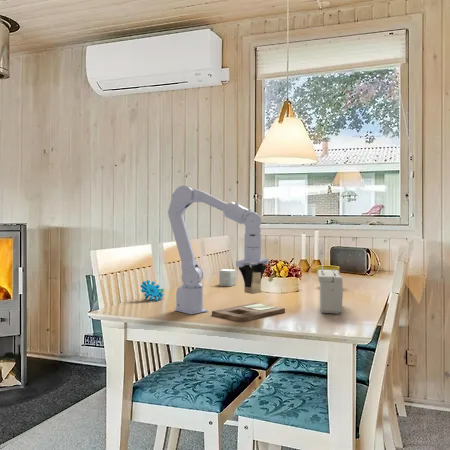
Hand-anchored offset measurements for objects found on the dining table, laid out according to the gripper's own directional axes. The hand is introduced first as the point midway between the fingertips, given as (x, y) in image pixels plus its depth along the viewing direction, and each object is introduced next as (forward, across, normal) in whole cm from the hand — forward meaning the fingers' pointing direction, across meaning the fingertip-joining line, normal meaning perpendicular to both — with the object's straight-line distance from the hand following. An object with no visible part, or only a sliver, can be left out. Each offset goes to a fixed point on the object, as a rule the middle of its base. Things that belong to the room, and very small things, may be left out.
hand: (252, 286), depth 169 cm
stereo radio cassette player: (+10, +26, -14) cm, 31 cm away
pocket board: (+9, -2, 0) cm, 10 cm away
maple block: (+2, 0, 0) cm, 2 cm away
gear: (+10, -11, +44) cm, 46 cm away
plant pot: (+10, +67, +15) cm, 70 cm away
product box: (+10, +37, +50) cm, 63 cm away
